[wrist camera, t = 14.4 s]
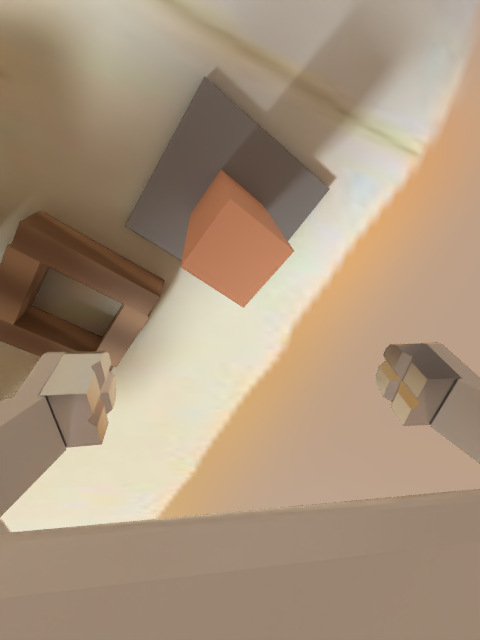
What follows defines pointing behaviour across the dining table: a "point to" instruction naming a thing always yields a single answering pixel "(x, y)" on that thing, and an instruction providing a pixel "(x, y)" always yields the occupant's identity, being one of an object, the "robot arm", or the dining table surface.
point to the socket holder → (82, 265)
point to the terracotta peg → (233, 241)
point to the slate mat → (206, 162)
